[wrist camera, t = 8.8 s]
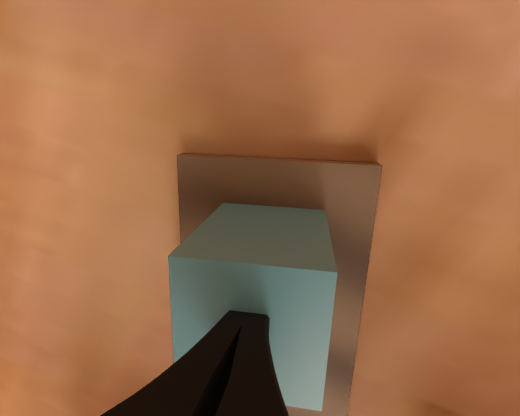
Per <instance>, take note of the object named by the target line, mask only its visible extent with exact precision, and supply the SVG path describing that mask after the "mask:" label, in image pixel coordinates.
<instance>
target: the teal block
mask: <svg viewBox="0 0 520 416" xmlns="http://www.w3.org/2000/svg"><path fill="white" fill-rule="evenodd" d="M168 262H169V280H170V299H171V317H172V336H173V354H174V363H175V362H176V361H177V360H178V359H180V358H181V357H182V356H183V355H184V354H185V353H187V352H188V351H189V350H190V349H191V348H192V347H193V346H194V345H195V344H196V343H197V342H198V341H199V340H200V339H201V338H203V337H204V336H205V335H206V334H207V333H208V332H209V331H210V330H211V329H212V328H213V326H214V325H215V324H216V323H217V322H218V321H219V320H220V319H221V318H222V317H223V316H224V315H225V314H226V313H227V312H228V311H229V310H233V311H241V312H249V313H258V314H266V315H267V316H268V317H269V318H270V323H269V342H270V349H271V354H272V359H273V364H274V368H275V372H276V376H277V380H278V383H279V387H280V390H281V394H282V397H283V400H284V403H285V406H291V407H297V408H304V409H310V410H316V411H322V405H323V396H324V387H325V378H326V369H327V360H328V352H329V343H330V334H331V325H332V316H333V307H334V298H335V290H336V281H337V268H336V262H335V257H334V252H333V247H332V242H331V236H330V231H329V226H328V221H327V216H326V210H317V209H303V208H289V207H275V206H262V205H248V204H234V203H222V204H221V205H220V206H219V207H218V208H217V209H216V210H215V211H214V212H213V213H212V214H211V215H210V216H209V217H208V218H207V219H206V220H205V221H204V222H203V223H202V224H201V225H200V226H199V227H198V228H197V229H196V230H194V231H193V232H192V233H191V234H190V235H189V236H188V237H187V238H186V239H185V240H184V241H183V242H182V243H181V244H180V245H179V246H178V247H177V248H176V249H175V250H174V251H173V252H172V253H171V254H170V255H169V256H168Z"/></svg>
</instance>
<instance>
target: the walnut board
mask: <svg viewBox="0 0 520 416" xmlns="http://www.w3.org/2000/svg"><path fill="white" fill-rule="evenodd" d="M177 168H178V192H179V216H180V241H181V243H182V242H183V241H184V240H185V239H186V238H187V237H188V236H189V235H190V234H191V233H192V232H193V231H194V230H196V229H197V228H198V227H199V226H200V225H201V224H202V223H203V222H204V221H205V220H206V219H207V218H208V217H209V216H210V215H211V214H212V213H213V212H214V211H215V210H216V209H217V208H218V207H219V206H220V205H221V204H222V203H234V204H248V205H262V206H275V207H289V208H303V209H317V210H326V216H327V221H328V226H329V231H330V236H331V242H332V247H333V252H334V257H335V262H336V268H337V281H336V290H335V298H334V307H333V316H332V325H331V334H330V343H329V352H328V360H327V369H326V378H325V387H324V396H323V405H322V411H316V410H310V409H304V408H297V407H291V406H286V409H287V411H288V414H289V416H347V411H348V404H349V397H350V390H351V383H352V376H353V369H354V362H355V355H356V348H357V341H358V334H359V327H360V320H361V313H362V306H363V299H364V292H365V285H366V278H367V271H368V264H369V257H370V250H371V243H372V236H373V229H374V222H375V215H376V208H377V201H378V194H379V187H380V180H381V173H382V165H380V164H379V163H367V162H348V161H328V160H308V159H288V158H269V157H249V156H229V155H210V154H190V153H183V154H180V155H177Z"/></svg>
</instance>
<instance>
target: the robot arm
mask: <svg viewBox="0 0 520 416" xmlns="http://www.w3.org/2000/svg"><path fill="white" fill-rule="evenodd" d="M269 323H270V318H269V317H268V316H267V315H266V314H258V313H249V312H241V311H233V310H229V311H228V312H227V313H226V314H225V315H224V316H223V317H222V318H221V319H220V320H219V321H218V322H217V323H216V324H215V325H214V326H213V328H212V329H211V330H210V331H209V332H208V333H207V334H206V335H205V336H204V337H203V338H201V339H200V340H199V341H198V342H197V343H196V344H195V345H194V346H193V347H192V348H191V349H190V350H189V351H188V352H187V353H185V354H184V355H183V356H182V357H181V358H180V359H178V360H177V361H176V362H175V363H174V364H173V365H171V366H170V367H169V368H168V369H167V370H166V371H164V372H163V373H162V374H161V375H159V376H158V377H157V378H155V379H154V380H153V381H151V382H150V383H149V384H147V385H146V386H145V387H143V388H142V389H141V390H139V391H138V392H136V393H135V394H134V395H132V396H131V397H129V398H128V399H126V400H124V401H123V402H121V403H120V404H118V405H116V406H115V407H113V408H112V409H110V410H108V411H107V412H105V413H104V414H102V415H100V416H289V414H288V411H287V409H286V406H285V403H284V400H283V397H282V394H281V390H280V387H279V383H278V380H277V376H276V372H275V368H274V364H273V359H272V354H271V349H270V342H269Z"/></svg>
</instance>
